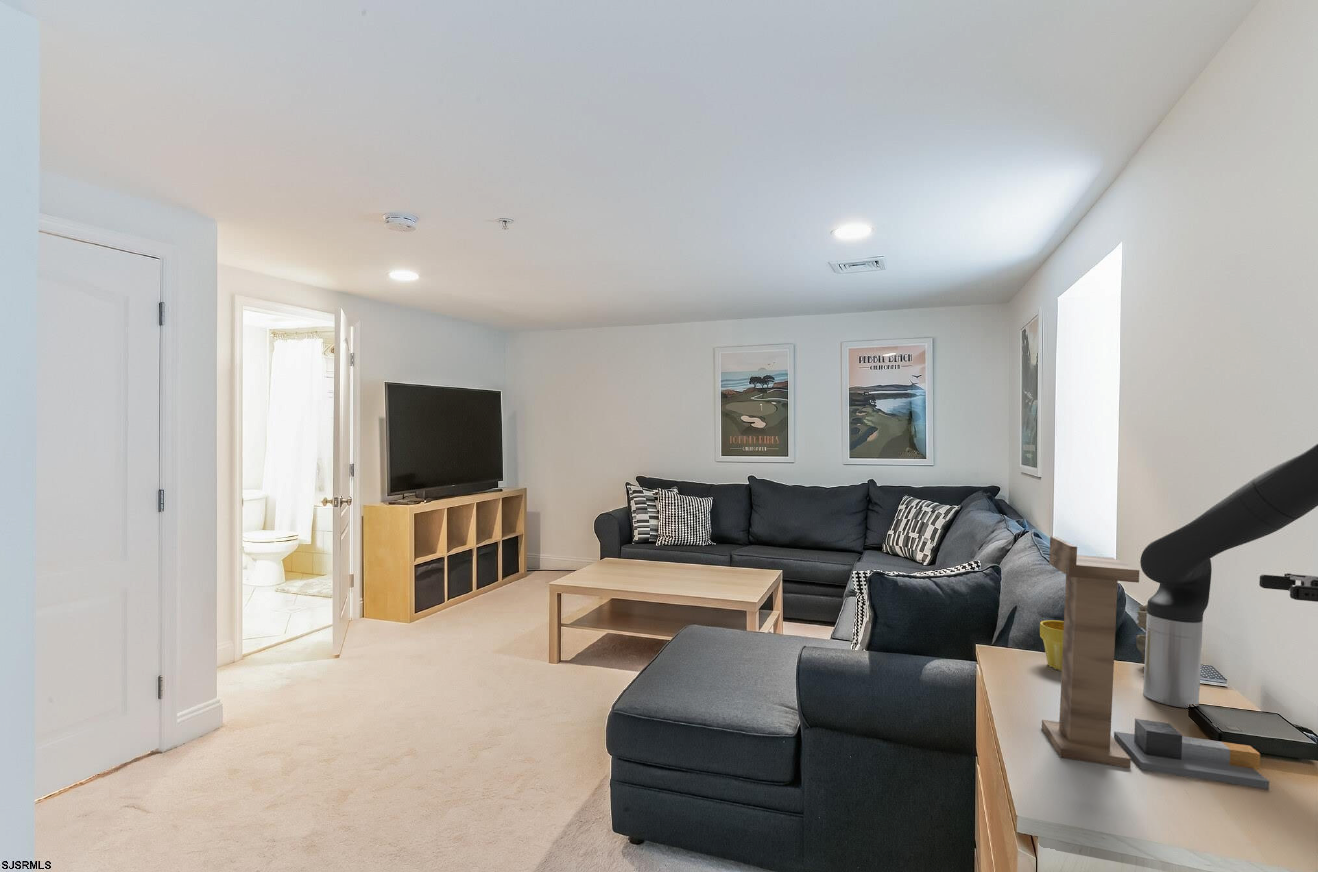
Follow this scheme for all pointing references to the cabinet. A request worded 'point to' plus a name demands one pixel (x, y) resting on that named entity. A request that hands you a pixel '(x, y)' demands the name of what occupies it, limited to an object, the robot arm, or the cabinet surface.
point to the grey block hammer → (1191, 746)
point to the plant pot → (1053, 641)
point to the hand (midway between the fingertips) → (1275, 586)
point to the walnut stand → (1087, 656)
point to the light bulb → (1142, 623)
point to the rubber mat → (1190, 766)
